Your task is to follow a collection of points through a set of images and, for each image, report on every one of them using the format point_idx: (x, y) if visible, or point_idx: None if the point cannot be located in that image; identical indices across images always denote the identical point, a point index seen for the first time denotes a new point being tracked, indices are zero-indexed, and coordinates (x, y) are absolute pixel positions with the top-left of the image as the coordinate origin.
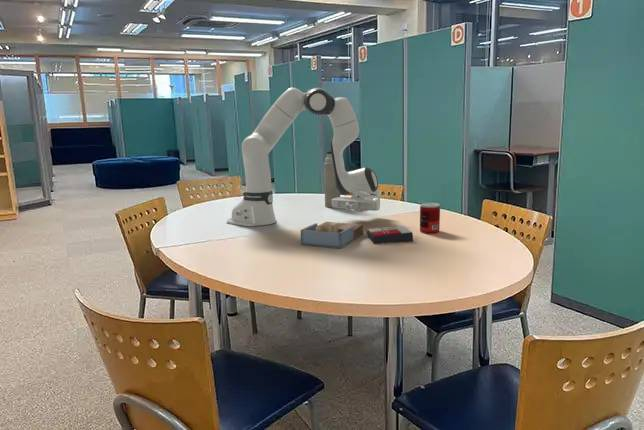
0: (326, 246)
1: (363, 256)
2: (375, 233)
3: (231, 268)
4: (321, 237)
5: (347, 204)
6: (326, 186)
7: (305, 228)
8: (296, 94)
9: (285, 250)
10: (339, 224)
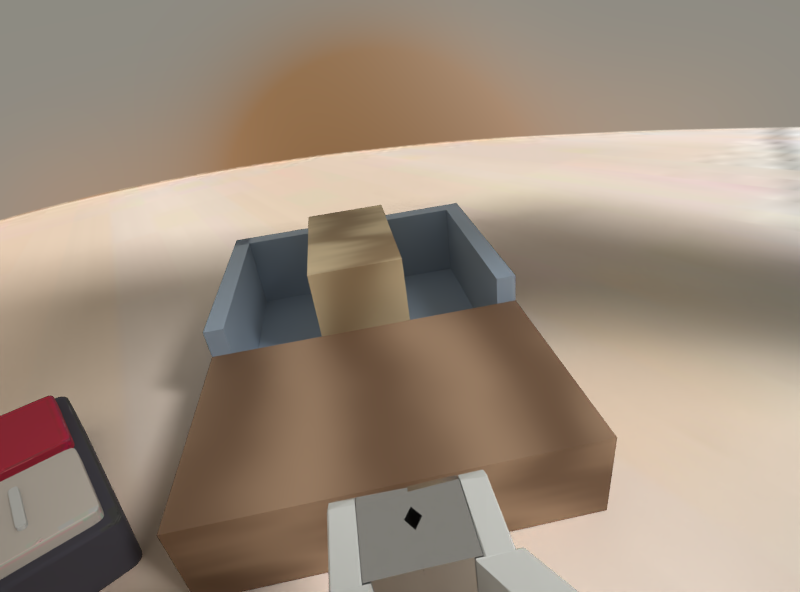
0: None
1: (135, 296)
2: (37, 421)
3: (448, 158)
4: None
5: (446, 491)
6: None
7: (459, 218)
8: None
9: None
10: (406, 423)
